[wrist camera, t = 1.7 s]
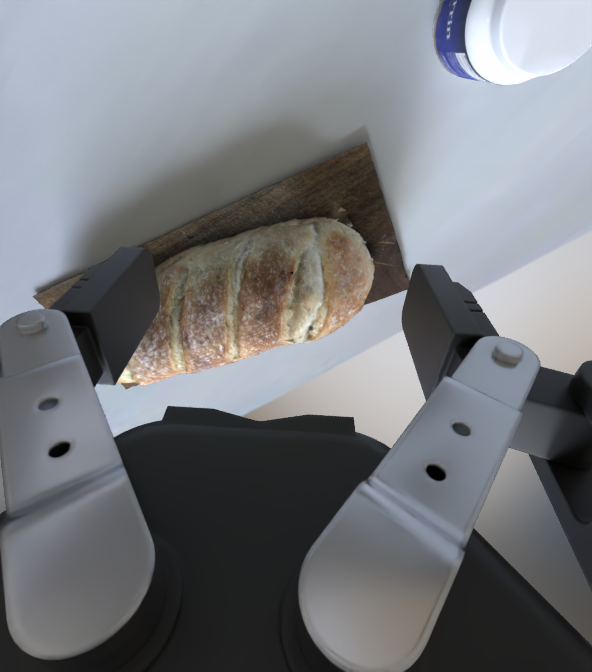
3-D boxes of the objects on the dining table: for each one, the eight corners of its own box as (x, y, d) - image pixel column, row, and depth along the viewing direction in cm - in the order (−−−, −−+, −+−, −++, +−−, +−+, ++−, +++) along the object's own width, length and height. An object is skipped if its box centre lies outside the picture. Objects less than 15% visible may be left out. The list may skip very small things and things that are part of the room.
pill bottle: (473, -64, 22) (571, -130, 14) (544, -3, 23) (669, -32, 15) (411, 48, 25) (461, 46, 17) (477, 95, 26) (552, 114, 18)
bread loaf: (150, 402, 47) (127, 470, 40) (22, 302, 37) (-40, 368, 30) (419, 271, 37) (455, 330, 29) (340, 86, 27) (364, 106, 20)
